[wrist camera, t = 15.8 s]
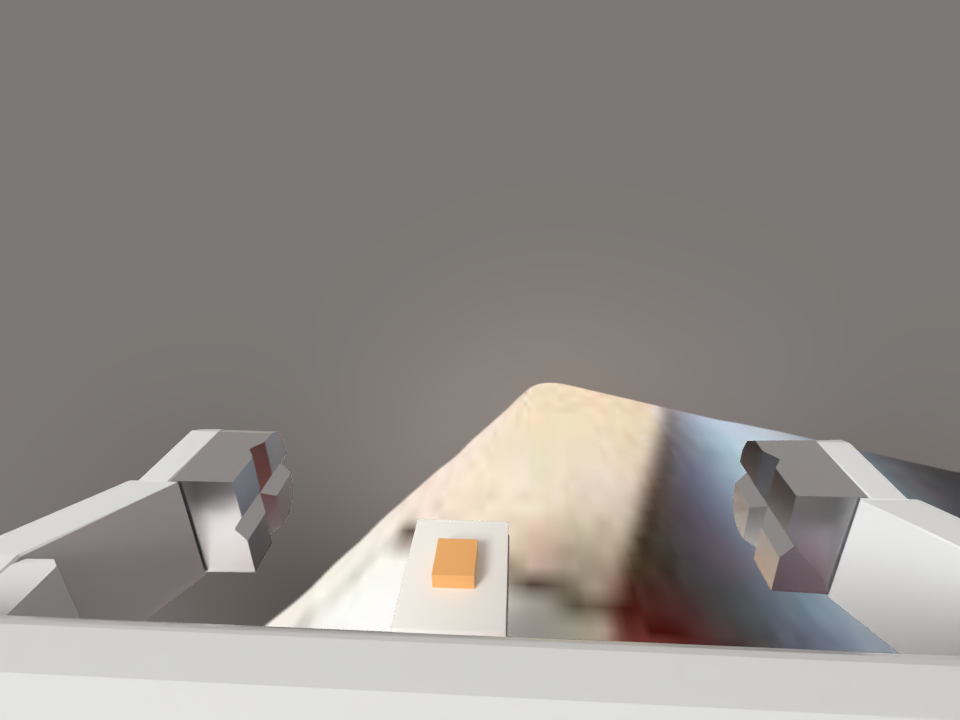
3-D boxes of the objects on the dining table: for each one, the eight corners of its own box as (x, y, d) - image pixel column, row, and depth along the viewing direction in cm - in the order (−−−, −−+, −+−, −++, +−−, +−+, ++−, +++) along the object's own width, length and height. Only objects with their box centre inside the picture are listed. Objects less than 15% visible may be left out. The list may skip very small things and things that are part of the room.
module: (506, 818, 29) (506, 620, 23) (412, 812, 29) (387, 615, 23) (509, 690, 35) (509, 509, 29) (431, 686, 36) (416, 507, 30)
